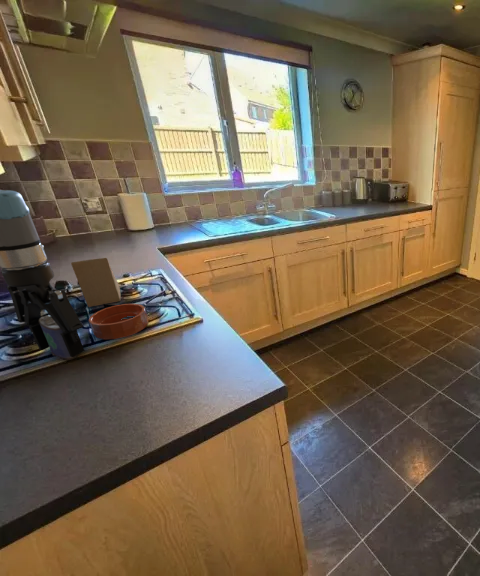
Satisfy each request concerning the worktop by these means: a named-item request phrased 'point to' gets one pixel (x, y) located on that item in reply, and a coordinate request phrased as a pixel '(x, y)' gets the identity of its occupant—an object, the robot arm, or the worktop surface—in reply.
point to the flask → (54, 338)
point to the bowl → (118, 321)
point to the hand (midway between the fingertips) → (62, 350)
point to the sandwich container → (97, 281)
